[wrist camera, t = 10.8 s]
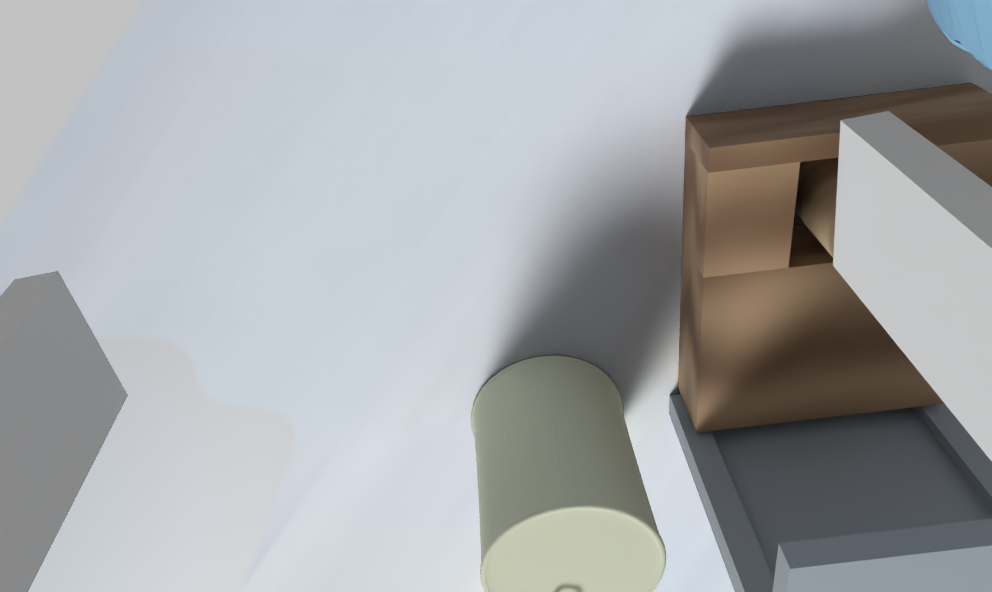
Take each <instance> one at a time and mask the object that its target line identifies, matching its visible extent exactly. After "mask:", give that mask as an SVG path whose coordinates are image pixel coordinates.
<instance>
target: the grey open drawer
mask: <svg viewBox="0 0 992 592" xmlns="http://www.w3.org/2000/svg"><path fill="white" fill-rule="evenodd" d="M669 414H670V417H671V420H672V423H673V425H674V428H675V431H676V433H677V436H678V439H679V442H680V444H681V447H682V450H683V452H684V455H685V458H686V460H687V463H688V466H689V469H690V471H691V474H692V477H693V479H694V482H695V485H696V488H697V490H698V493H699V496H700V498H701V501H702V504H703V506H704V509H705V512H706V515H707V517H708V520H709V523H710V525H711V528H712V531H713V534H714V536H715V539H716V542H717V544H718V547H719V550H720V553H721V555H722V558H723V561H724V563H725V566H726V569H727V571H728V574H729V577H730V580H731V582H732V585H733V588H734V590H735V592H992V461H991V460H990V459H989V458H988V456H987V455H986V454H985V453H984V452H983V450H982V449H981V448H980V447H979V445H978V444H977V443H976V442H975V440H974V439H973V438H972V437H971V435H970V434H969V433H968V432H967V430H966V429H965V428H964V427H963V426H962V424H961V423H960V422H959V421H958V419H957V418H956V417H955V416H954V414H953V413H952V412H951V411H950V409H949V408H948V407H947V406H946V405H945V404H937V405H929V406H920V407H912V408H903V409H895V410H886V411H878V412H869V413H861V414H852V415H844V416H835V417H827V418H818V419H810V420H801V421H793V422H784V423H776V424H767V425H759V426H750V427H742V428H733V429H725V430H716V431H708V432H699V433H696V431H695V429H694V426H693V424H692V421H691V419H690V416H689V414H688V411H687V409H686V406H685V404H684V401H683V399H682V396H681V394H675V395H670V405H669Z"/></svg>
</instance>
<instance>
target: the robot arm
mask: <svg viewBox="0 0 992 592" xmlns="http://www.w3.org/2000/svg"><path fill="white" fill-rule="evenodd" d="M926 2H927V5H928V8H929V10H930V13H931V15H932V17H933V18H934V20H935V22H936V24H937V25H938V27H939V28H940V30H941V31H942V32H943V34H944V35H945V36H946V37H947V39H948V40H949V41H950V42H951V43H952V44H954V45H956V46H958V47H959V48H961V49H963V50H965V51H967V52H969V53H971V54H972V55H973V56H974V58H975V59H976V60H977V61H980V62H981V63H982V64H983V65H984V66H985V67H986V68H988V69H990V70H991V71H992V0H926ZM833 266H834V267H835V269H836V270H837V271H838V272H839V274H840V275H841V276H842V277H843V278H844V280H845V281H846V282H847V283H848V285H849V286H850V287H851V288H852V290H853V291H854V292H855V293H856V295H857V296H858V297H859V298H860V299H861V301H862V302H863V303H864V304H865V306H866V307H867V308H868V309H869V311H870V312H871V313H872V314H873V316H874V317H875V318H876V319H877V320H878V322H879V323H880V324H881V325H882V327H883V328H884V329H885V330H886V332H887V333H888V334H889V335H890V337H891V338H892V339H893V340H894V342H895V343H896V344H897V345H898V346H899V348H900V349H901V350H902V351H903V353H904V354H905V355H906V356H907V358H908V359H909V360H910V361H911V363H912V364H913V365H914V366H915V367H916V369H917V370H918V371H919V372H920V374H921V375H922V376H923V377H924V379H925V380H926V381H927V382H928V384H929V385H930V386H931V387H932V388H933V390H934V391H935V392H936V393H937V395H938V396H939V397H940V398H941V400H942V401H943V402H944V403H945V405H946V406H947V407H948V408H949V409H950V411H951V412H952V413H953V414H954V416H955V417H956V418H957V419H958V421H959V422H960V423H961V424H962V426H963V427H964V428H965V429H966V430H967V432H968V433H969V434H970V435H971V437H972V438H973V439H974V440H975V442H976V443H977V444H978V445H979V447H980V448H981V449H982V450H983V452H984V453H985V454H986V455H987V456H988V458H989V459H990V460H991V461H992V187H991V186H990V185H988V184H987V183H986V182H984V181H983V180H982V179H980V178H979V177H978V176H976V175H975V174H973V173H972V172H971V171H969V170H968V169H967V168H965V167H964V166H963V165H961V164H960V163H959V162H957V161H956V160H954V159H953V158H952V157H950V156H949V155H948V154H946V153H945V152H944V151H942V150H941V149H940V148H938V147H937V146H935V145H934V144H933V143H931V142H930V141H929V140H927V139H926V138H925V137H923V136H922V135H921V134H919V133H918V132H917V131H915V130H914V129H912V128H911V127H910V126H908V125H907V124H906V123H904V122H903V121H902V120H900V119H899V118H898V117H896V116H895V115H893V114H892V113H891V112H889V111H886V112H880V113H875V114H870V115H865V116H860V117H855V118H849V119H844V120H841V121H840V140H839V159H838V178H837V197H836V216H835V236H834V255H833ZM127 396H128V395H127V393H126V391H125V390H124V388H123V386H122V384H121V382H120V381H119V379H118V377H117V375H116V373H115V372H114V370H113V368H112V366H111V365H110V363H109V361H108V359H107V358H106V356H105V354H104V352H103V350H102V349H101V347H100V345H99V343H98V341H97V340H96V338H95V336H94V334H93V333H92V331H91V329H90V327H89V325H88V324H87V322H86V320H85V318H84V317H83V315H82V313H81V311H80V309H79V308H78V306H77V304H76V302H75V301H74V299H73V297H72V295H71V293H70V292H69V290H68V288H67V286H66V284H65V283H64V281H63V279H62V277H61V276H60V274H59V272H58V271H56V272H51V273H46V274H41V275H36V276H30V277H25V278H20V279H15V280H14V281H13V282H12V283H11V284H10V286H9V287H8V288H7V289H6V290H5V291H4V293H3V294H2V295H1V296H0V592H28V590H29V588H30V586H31V584H32V582H33V580H34V578H35V577H36V575H37V573H38V571H39V569H40V567H41V565H42V563H43V561H44V559H45V557H46V555H47V553H48V551H49V549H50V547H51V545H52V543H53V541H54V539H55V537H56V535H57V533H58V531H59V529H60V527H61V525H62V523H63V522H64V520H65V518H66V516H67V514H68V512H69V510H70V508H71V506H72V504H73V502H74V500H75V498H76V496H77V494H78V492H79V490H80V488H81V486H82V484H83V482H84V480H85V478H86V476H87V474H88V472H89V470H90V468H91V466H92V465H93V463H94V461H95V459H96V457H97V455H98V453H99V451H100V449H101V447H102V445H103V443H104V441H105V439H106V437H107V435H108V433H109V431H110V429H111V427H112V425H113V423H114V421H115V419H116V417H117V415H118V413H119V412H120V410H121V408H122V406H123V404H124V402H125V400H126V398H127Z"/></svg>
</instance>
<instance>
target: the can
mask: <svg viewBox="0 0 992 592" xmlns="http://www.w3.org/2000/svg"><path fill="white" fill-rule="evenodd" d="M471 426H472V431H473V435H474V438H475V448H476V461H477V478H478V495H479V513H480V536H481V570H480V575H481V582H482V585H483V588H484V591H485V592H653V590H654V589H655V588H656V586H657V585H658V583H659V581H660V580H661V578H662V575H663V573H664V569H665V565H666V551H665V546H664V543H663V540H662V538H661V536H660V535H659V532H658V529H657V526H656V523H655V520H654V517H653V513H652V510H651V507H650V504H649V501H648V497H647V494H646V491H645V488H644V485H643V481H642V478H641V474H640V471H639V468H638V464H637V461H636V457H635V454H634V451H633V447H632V444H631V441H630V437H629V434H628V430H627V426H626V423H625V419H624V415H623V404H622V399H621V396H620V393H619V391H618V389H617V387H616V385H615V384H614V382H613V381H612V380H611V379H610V377H609V376H608V375H607V374H605V373H604V372H603V371H602V370H600V369H599V368H598V367H596V366H594V365H592V364H590V363H588V362H586V361H583V360H580V359H577V358H572V357H567V356H556V355H551V356H539V357H534V358H529V359H525V360H522V361H519V362H517V363H514V364H512V365H510V366H508V367H506V368H504V369H503V370H501V371H500V372H498V373H497V374H496V375H494V376H493V377H492V378H491V379H490V380H489V381H488V382H487V383H486V384H485V385H484V386H483V388H482V389H481V390H480V392H479V394H478V395H477V397H476V399H475V402H474V405H473V408H472V413H471Z"/></svg>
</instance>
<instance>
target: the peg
mask: <svg viewBox="0 0 992 592" xmlns="http://www.w3.org/2000/svg"><path fill="white" fill-rule="evenodd" d="M838 159H839V157H838V158H830V159H821V160H813V161H804V162H800V169H799V178H798V187H797V196H796V205H795V213H796V214H797V215H798V217H799V218H800V219H801V220H802V221H803V223H804V224H805V225H806V226H807V227H808V229H809V230H810V231H811V232H812V233H813V234H814V236H815V237H816V238H817V239H818V240H819V242H820V243H821V244H822V245H823V246H824V248H825V249H826V250H827V251H828V252H829V254H830V255H831V256H832V257H833V255H834V236H835V216H836V197H837V178H838Z"/></svg>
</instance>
